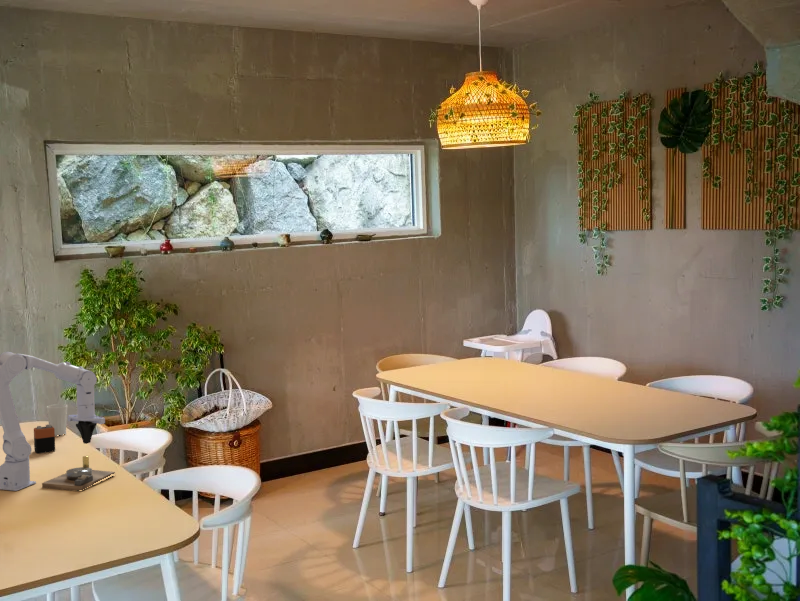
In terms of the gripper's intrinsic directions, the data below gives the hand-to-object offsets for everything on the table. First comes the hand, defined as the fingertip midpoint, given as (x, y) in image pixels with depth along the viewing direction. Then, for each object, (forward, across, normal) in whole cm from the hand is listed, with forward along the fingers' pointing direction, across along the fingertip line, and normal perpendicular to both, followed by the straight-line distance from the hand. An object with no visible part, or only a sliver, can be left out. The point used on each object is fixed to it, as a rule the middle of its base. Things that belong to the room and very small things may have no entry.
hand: (86, 442), depth 298 cm
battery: (+11, +36, -17) cm, 41 cm away
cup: (+11, +51, -40) cm, 65 cm away
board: (+10, -5, +10) cm, 15 cm away
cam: (+9, -5, +8) cm, 13 cm away
